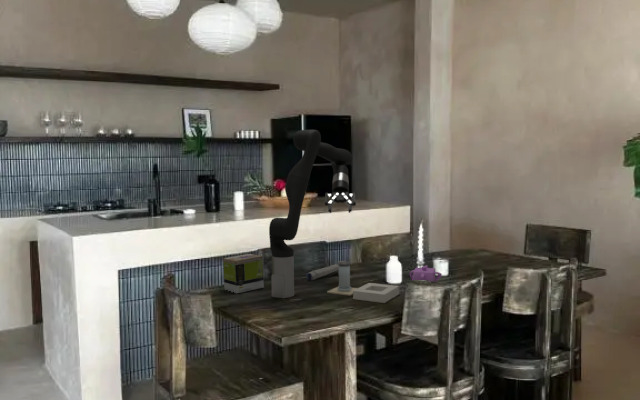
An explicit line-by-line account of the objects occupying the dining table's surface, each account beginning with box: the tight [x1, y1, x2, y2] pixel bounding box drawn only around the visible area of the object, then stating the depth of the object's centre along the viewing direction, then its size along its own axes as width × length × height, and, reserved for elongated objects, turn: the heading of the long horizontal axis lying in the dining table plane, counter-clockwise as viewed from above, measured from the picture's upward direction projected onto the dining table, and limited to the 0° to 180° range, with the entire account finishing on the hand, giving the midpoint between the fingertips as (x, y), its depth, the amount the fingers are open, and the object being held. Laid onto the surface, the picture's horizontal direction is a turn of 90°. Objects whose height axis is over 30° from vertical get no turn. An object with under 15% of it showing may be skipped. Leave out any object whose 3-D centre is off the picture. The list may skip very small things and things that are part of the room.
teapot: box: [409, 264, 443, 282], centre depth 266 cm, size 18×14×10 cm
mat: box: [326, 286, 359, 297], centre depth 264 cm, size 11×11×1 cm
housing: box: [352, 282, 400, 304], centre depth 254 cm, size 16×14×4 cm
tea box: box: [222, 253, 265, 294], centre depth 269 cm, size 15×10×15 cm, turn 131°
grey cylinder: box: [306, 260, 346, 281], centre depth 294 cm, size 5×7×25 cm
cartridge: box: [337, 261, 352, 292], centre depth 263 cm, size 6×6×12 cm
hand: (339, 211), depth 273 cm, fingers open, 8 cm apart
